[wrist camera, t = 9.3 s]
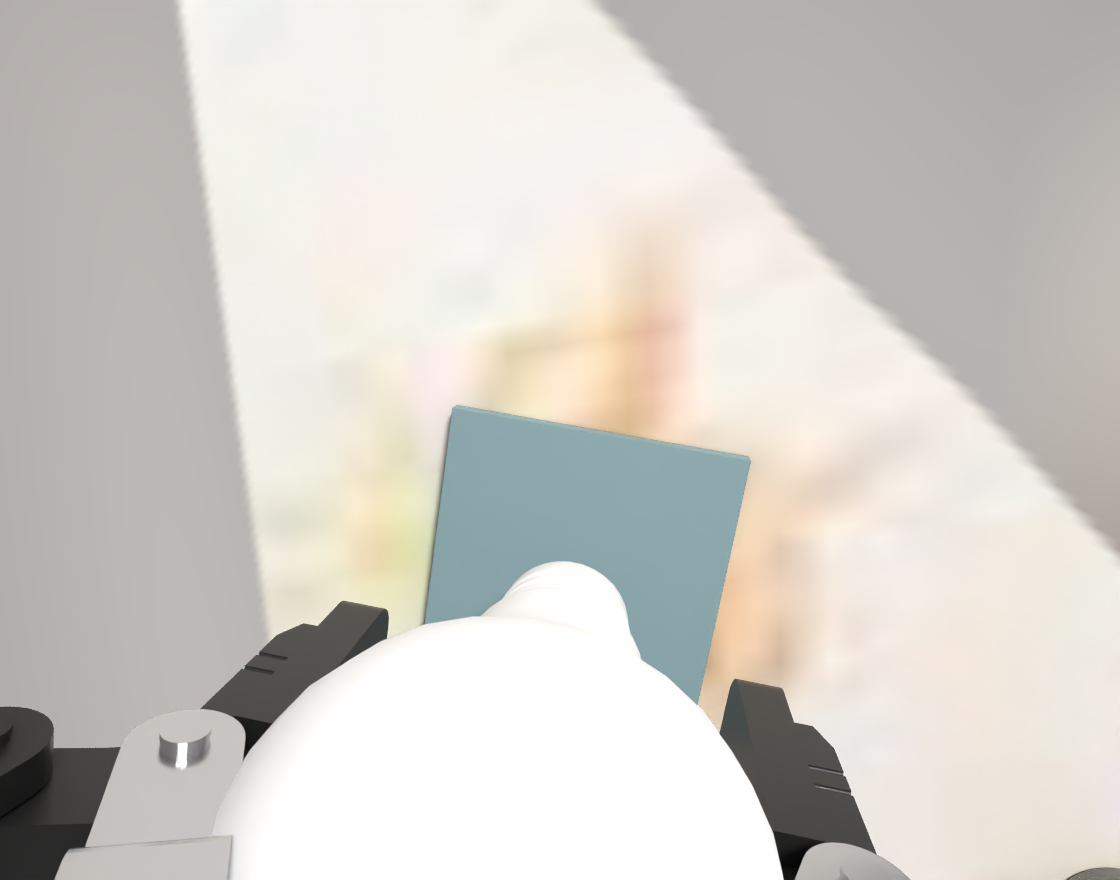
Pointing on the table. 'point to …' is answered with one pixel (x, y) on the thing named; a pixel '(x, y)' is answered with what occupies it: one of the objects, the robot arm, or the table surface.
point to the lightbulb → (499, 759)
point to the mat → (589, 526)
